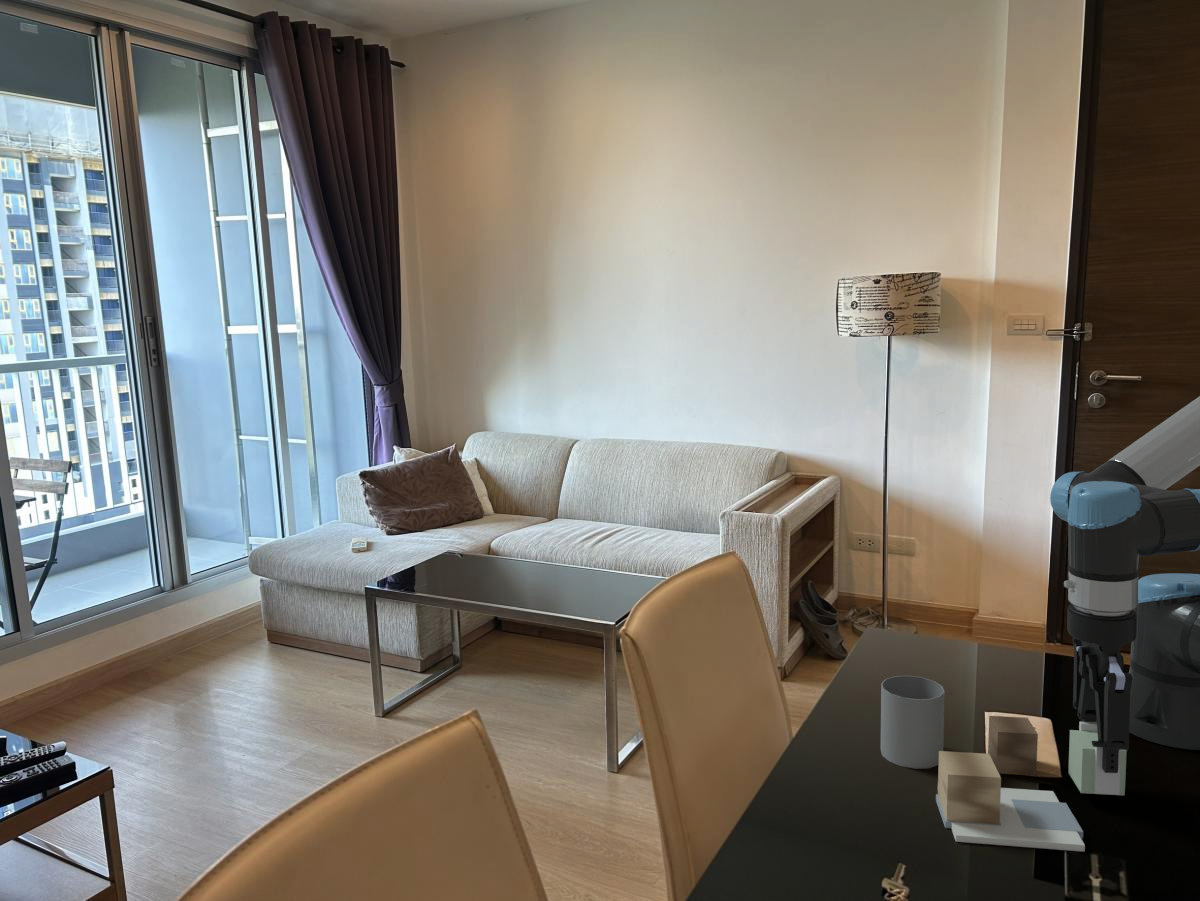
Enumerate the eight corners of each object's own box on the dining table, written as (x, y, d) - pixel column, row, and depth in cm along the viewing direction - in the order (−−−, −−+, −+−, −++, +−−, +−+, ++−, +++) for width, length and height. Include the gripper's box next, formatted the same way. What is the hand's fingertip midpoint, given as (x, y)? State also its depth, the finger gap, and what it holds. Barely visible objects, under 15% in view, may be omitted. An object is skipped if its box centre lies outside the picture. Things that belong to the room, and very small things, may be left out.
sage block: (1110, 774, 115) (1111, 731, 114) (1124, 795, 110) (1126, 750, 109) (1068, 772, 116) (1069, 730, 115) (1081, 792, 111) (1082, 748, 110)
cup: (947, 770, 120) (949, 701, 119) (884, 766, 122) (885, 698, 121) (936, 742, 129) (938, 677, 127) (878, 738, 130) (878, 674, 129)
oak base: (987, 798, 112) (989, 753, 111) (999, 824, 106) (1001, 777, 105) (937, 795, 113) (938, 750, 112) (946, 820, 107) (947, 774, 106)
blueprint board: (1058, 797, 113) (1058, 791, 113) (1091, 852, 101) (1091, 845, 101) (932, 788, 116) (932, 782, 116) (949, 841, 104) (949, 834, 104)
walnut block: (1025, 758, 123) (1027, 717, 122) (1036, 776, 118) (1037, 733, 118) (987, 755, 124) (989, 715, 123) (996, 773, 119) (997, 731, 119)
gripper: (1047, 584, 119) (1045, 746, 122) (1094, 631, 102) (1091, 818, 105) (1108, 584, 117) (1104, 748, 121) (1166, 632, 100) (1160, 821, 103)
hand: (1098, 780), depth 113 cm, fingers closed on sage block, 5 cm apart
